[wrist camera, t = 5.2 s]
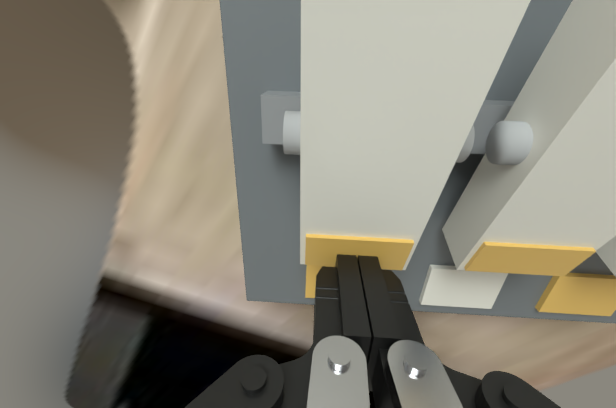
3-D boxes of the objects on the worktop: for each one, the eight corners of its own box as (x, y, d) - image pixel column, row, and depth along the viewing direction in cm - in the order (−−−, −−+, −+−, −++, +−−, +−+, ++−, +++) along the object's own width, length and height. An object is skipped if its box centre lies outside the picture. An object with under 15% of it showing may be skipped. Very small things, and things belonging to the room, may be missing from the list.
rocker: (282, -133, 5) (262, -163, 4) (552, -126, 5) (649, -154, 4) (292, 224, 12) (286, 266, 11) (407, 230, 12) (419, 274, 10)
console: (240, -127, 11) (173, -281, 6) (851, -113, 10) (1334, -268, 5) (261, 254, 19) (240, 321, 14) (594, 274, 18) (689, 350, 14)
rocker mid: (617, -130, 5) (741, -150, 3) (912, -122, 5) (1174, -141, 3) (430, 228, 12) (444, 272, 11) (547, 235, 12) (579, 280, 10)
